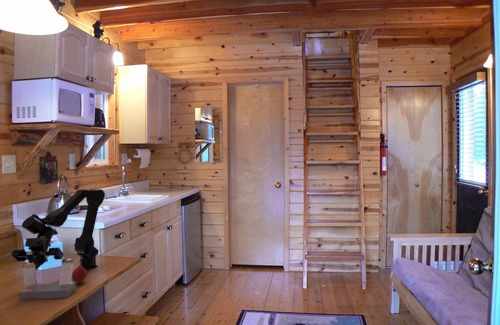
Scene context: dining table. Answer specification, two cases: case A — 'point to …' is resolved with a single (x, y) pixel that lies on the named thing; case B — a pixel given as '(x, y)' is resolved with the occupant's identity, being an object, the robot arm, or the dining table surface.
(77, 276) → the onion
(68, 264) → the grey lever
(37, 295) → the switch box
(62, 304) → the dining table surface
